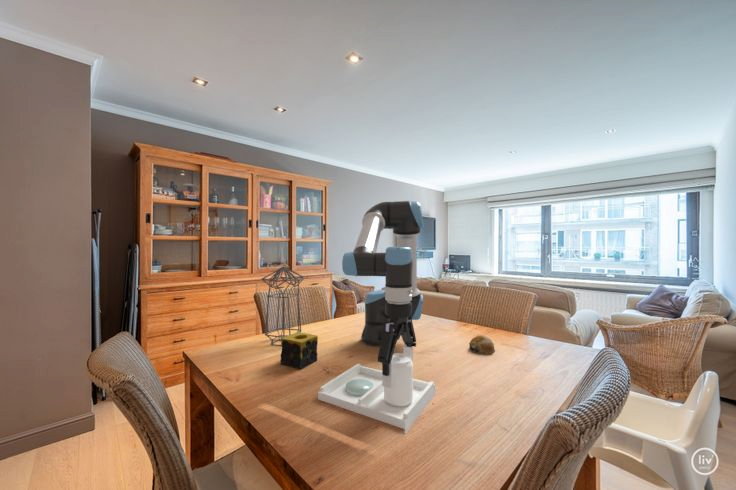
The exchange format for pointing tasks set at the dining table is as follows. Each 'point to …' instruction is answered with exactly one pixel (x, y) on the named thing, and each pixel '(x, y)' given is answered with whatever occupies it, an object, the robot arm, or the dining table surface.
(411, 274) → the robot arm
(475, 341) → the bread roll
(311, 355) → the candle
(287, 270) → the geometric lantern
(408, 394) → the beverage can
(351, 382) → the pale green smooth oval
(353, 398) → the divided white tray
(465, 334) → the dining table surface
